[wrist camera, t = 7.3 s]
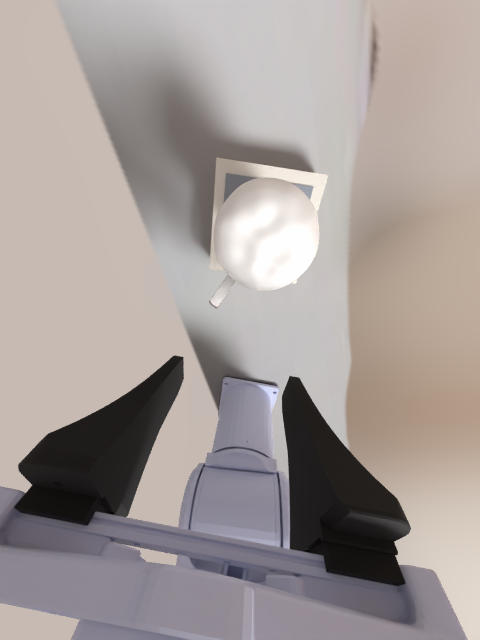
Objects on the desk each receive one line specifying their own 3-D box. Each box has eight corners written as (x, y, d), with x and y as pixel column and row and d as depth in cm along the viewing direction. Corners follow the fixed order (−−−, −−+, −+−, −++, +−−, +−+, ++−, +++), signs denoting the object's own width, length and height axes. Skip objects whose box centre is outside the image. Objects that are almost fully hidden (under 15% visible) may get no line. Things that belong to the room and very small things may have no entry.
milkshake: (218, 238, 16) (166, 267, 7) (264, 179, 14) (266, 123, 5) (256, 275, 17) (251, 338, 9) (305, 226, 15) (362, 245, 6)
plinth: (292, 275, 20) (296, 283, 17) (215, 262, 20) (209, 269, 18) (319, 180, 16) (328, 174, 13) (222, 165, 16) (216, 156, 14)
